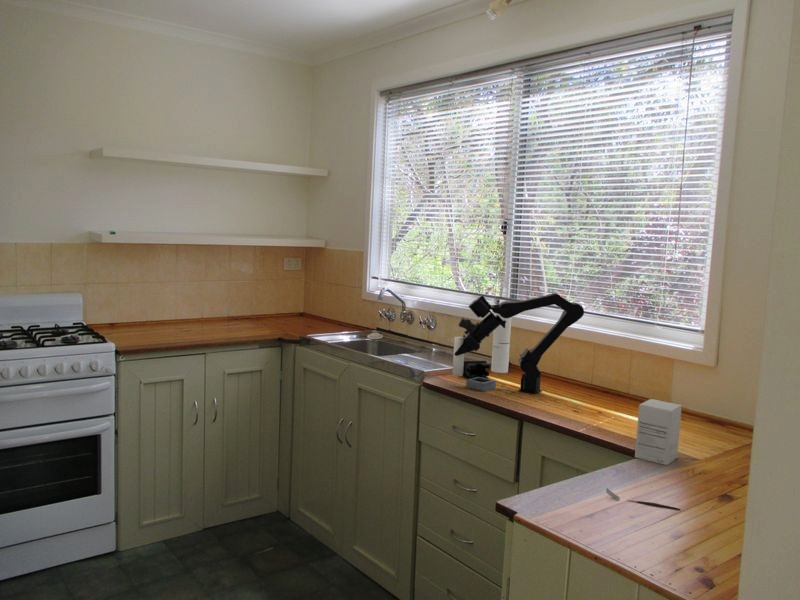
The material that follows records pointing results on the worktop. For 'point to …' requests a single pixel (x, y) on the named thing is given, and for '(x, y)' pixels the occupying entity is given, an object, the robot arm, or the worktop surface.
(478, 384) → the square frame
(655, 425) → the supplement box
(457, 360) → the white tapered peg
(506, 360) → the cylindrical container
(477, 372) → the end cap
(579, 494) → the worktop surface
